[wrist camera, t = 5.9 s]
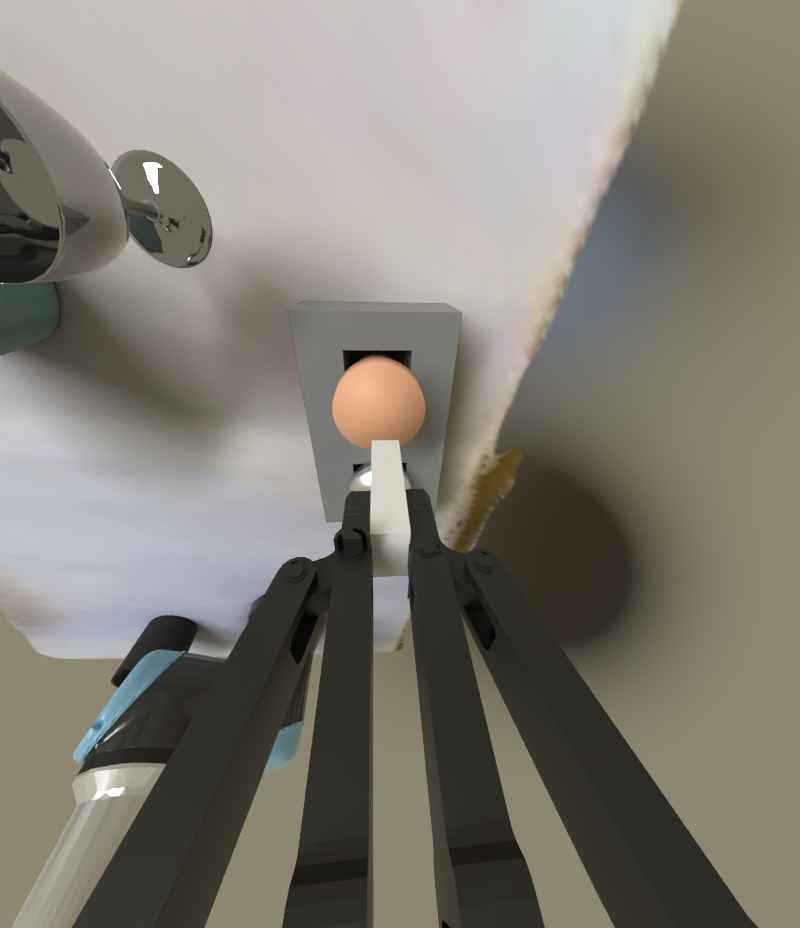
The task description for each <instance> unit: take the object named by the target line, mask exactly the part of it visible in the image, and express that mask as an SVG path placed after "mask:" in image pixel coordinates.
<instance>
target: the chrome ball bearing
mask: <svg viewBox="0 0 800 928" xmlns="http://www.w3.org/2000/svg"><path fill="white" fill-rule="evenodd" d="M402 469H403V476H404V484H405V489H411V483H410V478H409V475H408V473H407V472H406V470H405V469H404V468H403V467H402ZM351 491H371V462H368V463H365V464H360V467H359V468H358V469H357V470H356V471H355V472H354V473H353V475H352V477H351V481H350V489H349V493H350V492H351Z"/></svg>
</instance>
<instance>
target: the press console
mask: <svg viewBox="0 0 800 928" xmlns="http://www.w3.org/2000/svg"><path fill="white" fill-rule="evenodd" d="M287 311H288V317H289V322H290V327H291V333H292V338H293V344H294V349H295V355H296V360H297V366H298V371H299V376H300V382H301V387H302V393H303V398H304V404H305V409H306V415H307V420H308V426H309V431H310V436H311V442H312V447H313V453H314V458H315V464H316V469H317V475H318V480H319V485H320V491H321V496H322V502H323V507H324V513H325V518H326V522H343V516H344V515H343V514H344V506H345V499H346V497H347V496H348V494H349V489H350V481H351V477H352V475H353V473H354V472H355V471H356V470H357V469H358V464H365V463H368V462H371V450H366V449H363V448H360V447H358V446H356V445H354V444H353V443H351V442H350V441H348V440H347V439H346V438H345V437H344V436H343V435H342V434H341V432H340V431H339V429H338V428H337V426H336V424H335V421H334V418H333V413H332V404H333V398H334V394H335V391H336V387H337V384H338V382H339V380H340V378H341V376H342V375H343V374H344V372H345V371H346V370H347V369H348V368H349V367H350V360H349V350H405V366H406V367H407V368H408V369H409V370H410V371H411V372H412V373H413V374H414V376H415V377H416V379H417V381H418V383H419V385H420V388H421V391H422V393H423V396H424V400H425V417H424V421H423V423H422V426H421V428H420V429H419V431H418V432H417V434H416V435H415V436H414V437H413V438H412V439H411V440H410V441H408V442H407V443H406V444H404V445H402V446H400V454H401V461H402V467H403V468H404V469H405V470H406V472H407V473H408V475H409V478H410V483H411V489H424V490H425V491H426V492H427V493H428V495H429V496H430V500H431V506H432V509H433V513H434V518H435V512H436V504H437V497H438V489H439V482H440V474H441V467H442V459H443V452H444V444H445V437H446V429H447V422H448V414H449V407H450V399H451V392H452V384H453V377H454V369H455V362H456V354H457V347H458V339H459V332H460V324H461V317H462V312H460V311H458V310H457V309H455V308H453V307H452V306H450V305H448V304H443V303H384V302H325V301H302V302H300V303H299V304H297V305H295V306H293V307H292V308H290V309H288V310H287Z"/></svg>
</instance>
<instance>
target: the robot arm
mask: <svg viewBox="0 0 800 928" xmlns="http://www.w3.org/2000/svg"><path fill="white" fill-rule="evenodd" d="M343 515H344V516H343V522H342V529H340V530H339V531H338V532H337V533H336V535H335V537H334V545H335V551H334V552H333V553H332V554H330V555H329V556H327V557H325V558H322V559H319V560H316V561H313V562H312V561H311V560H310V559H308V558H305V557H297V558H294V559H290V560H289V561H287V562H286V563H284V564H283V565H282V567H281V568H280V569H279V570H278V572H277V574H276V576H275V577H274V579H273V581H272V582H271V584H270V586H269V588H268V589H267V591H266V593H265V595H263V596H261V597H259V598H258V599H257V600H255V601H254V603H253V604H252V607H251V610H250V613H249V616H248V624H247V626H246V627H245V629H244V631H243V633H242V634H241V636H240V638H239V639H238V641H237V643H236V645H235V646H234V648H233V650H232V652H231V653H230V655H229V657H228V659H227V660H226V659H221V658H215V657H210V656H205V655H199V654H194V653H188V652H187V651H181V652H178V651H170V650H155V651H152V652H150V653H148V654H147V655H145V656H144V657H143V658H142V659H141V660H140V661H139V662H138V664H137V665H136V666H135V667H134V668H133V670H132V671H131V672H130V674H129V675H128V676H127V677H126V679H125V680H124V681H123V683H122V684H121V685H120V687H119V688H118V689H117V691H116V692H115V694H114V695H113V696H112V698H111V699H110V701H109V702H108V703H107V705H106V706H105V708H104V709H103V710H102V712H101V714H100V715H99V717H98V719H97V720H96V721H95V722H94V724H93V725H92V727H91V728H90V730H89V731H88V732H87V734H86V735H85V737H84V738H83V740H82V741H81V743H80V744H79V746H78V747H77V749H76V751H75V753H74V755H73V759H74V760H76V761H77V762H78V763H83V762H84V764H83V766H82V768H81V770H80V771H79V773H78V775H77V777H76V778H75V780H74V782H73V784H72V785H73V790H74V794H75V798H76V801H77V805H76V809H75V811H74V813H73V815H72V817H71V818H70V820H69V822H68V824H67V826H66V828H65V829H64V831H63V833H62V835H61V837H60V839H59V841H58V843H57V844H56V846H55V848H54V850H53V852H52V854H51V855H50V857H49V859H48V861H47V863H46V865H45V867H44V869H43V870H42V872H41V874H40V876H39V878H38V879H37V881H36V883H35V885H34V887H33V889H32V891H31V892H30V894H29V896H28V898H27V900H26V902H25V903H24V905H23V907H22V909H21V911H20V913H19V915H18V916H17V918H16V920H15V922H14V924H13V926H12V928H204V927H205V925H206V922H207V919H208V917H209V913H210V911H211V909H212V906H213V904H214V901H215V898H216V896H217V893H218V890H219V888H220V885H221V882H222V880H223V877H224V875H225V872H226V869H227V867H228V864H229V862H230V859H231V856H232V853H233V851H234V848H235V846H236V843H237V840H238V838H239V835H240V833H241V830H242V827H243V825H244V822H245V819H246V817H247V814H248V812H249V809H250V806H251V804H252V801H253V798H254V796H255V793H256V791H257V788H258V785H259V783H260V780H261V777H262V775H263V774H264V773H268V772H271V771H274V770H277V769H280V768H282V767H284V766H286V765H287V764H289V763H290V762H291V761H292V760H293V758H294V757H295V755H296V753H297V749H298V746H299V740H300V736H301V731H302V726H303V725H304V714H305V706H306V700H307V693H308V686H309V679H310V672H311V665H312V658H313V653H314V651H315V649H316V646H317V644H318V642H319V640H320V637H321V635H322V633H323V631H324V628H325V626H326V623H327V629H326V637H325V645H324V652H323V660H322V668H321V676H320V684H319V692H318V700H317V708H316V716H315V724H314V732H313V739H312V748H311V755H310V763H309V771H308V778H307V786H306V794H305V802H304V810H303V818H302V826H301V833H300V841H299V849H298V856H297V861H296V866H295V870H294V873H293V877H292V880H291V884H290V887H289V892H288V897H287V902H286V907H285V913H284V919H283V926H282V928H373V577H385V576H405V575H408V577H409V586H408V598H409V600H410V611H411V621H412V631H413V641H414V651H415V661H416V672H417V682H418V692H419V702H420V711H421V723H422V733H423V743H424V753H425V762H426V774H427V784H428V793H429V804H430V814H431V824H432V834H433V846H434V875H435V888H436V899H437V909H438V920H439V928H545V927H544V923H543V919H542V915H541V911H540V908H539V904H538V899H537V896H536V892H535V889H534V885H533V881H532V878H531V875H530V872H529V869H528V866H527V863H526V861H525V858H524V856H523V854H522V852H521V850H520V848H519V846H518V844H517V842H516V839H515V837H514V833H513V831H512V827H511V823H510V820H509V815H508V812H507V807H506V803H505V799H504V794H503V790H502V786H501V782H500V777H499V773H498V769H497V765H496V761H495V756H494V752H493V748H492V744H491V739H490V735H489V731H488V727H487V723H486V719H485V714H484V710H483V706H482V702H481V698H480V693H479V689H478V685H477V681H476V676H475V672H474V668H473V664H472V660H471V655H470V651H469V647H468V643H467V639H466V635H465V630H464V626H463V622H462V617H461V614H460V611H461V613H462V615H463V618H464V620H465V622H466V624H467V626H468V628H469V630H470V632H471V634H472V636H473V638H474V640H475V642H476V644H477V646H478V649H479V650H480V653H481V655H482V657H483V659H484V661H485V663H486V665H487V667H488V669H489V671H490V673H491V675H492V677H493V679H494V681H495V684H496V686H497V688H498V690H499V692H500V694H501V696H502V698H503V700H504V702H505V704H506V706H507V708H508V710H509V713H510V714H511V717H512V719H513V721H514V723H515V725H516V727H517V729H518V731H519V733H520V735H521V737H522V739H523V741H524V743H525V746H526V747H527V750H528V752H529V754H530V756H531V758H532V760H533V762H534V764H535V766H536V768H537V770H538V772H539V774H540V776H541V779H542V781H543V783H544V785H545V787H546V789H547V791H548V793H549V795H550V797H551V799H552V801H553V803H554V805H555V807H556V809H557V811H558V813H559V816H560V818H561V820H562V822H563V824H564V826H565V828H566V830H567V832H568V834H569V836H570V838H571V840H572V843H573V845H574V847H575V849H576V851H577V853H578V855H579V857H580V859H581V861H582V863H583V865H584V867H585V869H586V871H587V873H588V875H589V878H590V880H591V882H592V883H593V886H594V888H595V890H596V892H597V894H598V896H599V898H600V900H601V901H602V904H603V905H604V907H605V909H606V911H607V913H608V915H609V917H610V919H611V921H612V923H613V925H614V927H615V928H758V927H757V926H756V925H755V924H754V922H753V921H751V919H750V918H749V917H748V916H747V914H746V913H745V912H744V910H743V909H742V907H741V906H740V904H739V903H738V901H737V900H736V899H735V897H734V896H733V895H732V893H731V892H730V890H729V889H728V887H727V886H726V884H725V883H724V881H723V880H722V879H721V877H720V876H719V874H718V873H717V871H716V870H715V868H714V867H713V866H712V864H711V863H710V861H709V860H708V858H707V857H706V856H705V854H704V853H703V851H702V850H701V848H700V847H699V845H698V844H697V843H696V841H695V840H694V838H693V837H692V835H691V834H690V833H689V831H688V830H687V828H686V827H685V825H684V824H683V822H682V821H681V820H680V818H679V817H678V815H677V814H676V813H675V811H674V809H673V808H672V807H671V805H670V804H669V802H668V801H667V800H666V798H665V796H664V795H663V794H662V792H661V791H660V789H659V788H658V786H657V785H656V784H655V782H654V781H653V779H652V778H651V776H650V775H649V773H648V772H647V771H646V769H645V768H644V766H643V765H642V763H641V762H640V761H639V759H638V758H637V756H636V755H635V753H634V752H633V750H632V749H631V748H630V746H629V745H628V743H627V742H626V740H625V739H624V738H623V736H622V735H621V733H620V732H619V730H618V729H617V727H616V726H615V725H614V723H613V722H612V720H611V719H610V717H609V716H608V714H607V713H606V712H605V710H604V709H603V707H602V706H601V704H600V703H599V702H598V700H597V699H596V697H595V696H594V694H593V693H592V692H591V690H590V689H589V687H588V686H587V684H586V683H585V681H584V680H583V679H582V677H581V676H580V674H579V673H578V671H577V670H576V669H575V667H574V666H573V664H572V663H571V661H570V660H569V658H568V657H567V656H566V654H565V653H564V651H563V650H562V648H561V647H560V645H559V644H558V643H557V641H556V640H555V638H554V637H553V635H552V634H551V633H550V631H549V630H548V628H547V627H546V625H545V624H544V622H543V621H542V620H541V618H540V617H539V615H538V614H537V612H536V611H535V609H534V608H533V607H532V605H531V604H530V602H529V601H528V600H527V598H526V597H525V595H524V594H523V592H522V591H521V589H520V588H519V587H518V585H517V584H516V582H515V581H514V579H513V578H512V576H511V575H510V574H509V572H508V571H507V569H506V568H505V566H504V565H503V563H502V562H501V561H500V559H499V558H498V557H497V556H496V555H495V554H494V553H492V552H490V551H489V550H485V549H474V550H472V551H470V552H469V554H464V553H460V552H456V551H453V550H451V549H449V548H447V547H446V546H445V545H444V544H443V543H442V542H441V540H440V538H439V535H438V531H437V526H436V522H435V518H434V513H433V509H432V506H431V500H430V496H429V495H428V493H427V492H426V491H425V490H424V489H405V484H404V476H403V469H402V461H401V454H400V446H399V440H372V449H371V491H351V492H350V493H349V494H348V496H347V497H346V499H345V506H344V514H343ZM328 612H329V613H328ZM327 617H328V621H327Z"/></svg>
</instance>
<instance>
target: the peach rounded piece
mask: <svg viewBox="0 0 800 928" xmlns="http://www.w3.org/2000/svg"><path fill="white" fill-rule="evenodd" d="M332 413H333V418H334V421H335V424H336V426H337V428H338V429H339V431H340V432H341V434H342V435H343V436H344V437H345V438H346V439H347V440H348V441H350V442H351V443H353V444H354V445H356V446H358V447H360V448H363V449H366V450H371V449H372V440H399V446H402V445H404V444H406V443H407V442H408V441H410V440H411V439H412V438H413V437H414V436H415V435H416V434H417V432H418V431H419V429H420V428H421V426H422V423H423V421H424V417H425V400H424V396H423V393H422V391H421V388H420V385H419V383H418V381H417V379H416V377H415V376H414V374H413V373H412V372H411V371H410V370H409V369H408V368H407V367H406V366H404V365H403V364H401V363H399V362H397V361H396V360H395V359H393V358H392V357H390V356H388V355H385V354H380V353H375V354H370V355H367V356H365V357H363V358H362V359H361V360H359V361H358V362H357V363H355V364H353V365H352V366H351V367H349V368H348V369H347V370H346V371H345V372H344V374H343V375H342V376H341V378H340V380H339V382H338V384H337V387H336V391H335V394H334V398H333V404H332Z"/></svg>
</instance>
